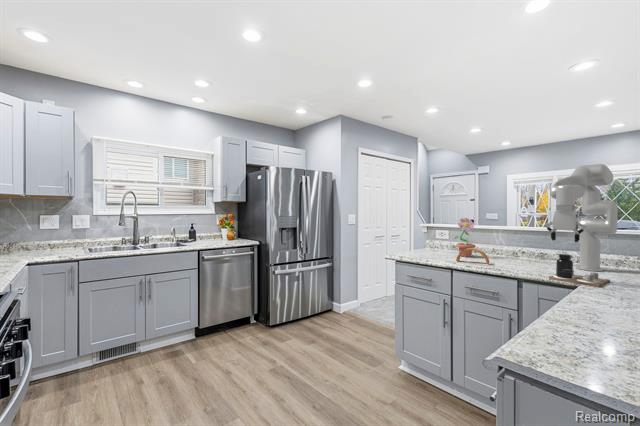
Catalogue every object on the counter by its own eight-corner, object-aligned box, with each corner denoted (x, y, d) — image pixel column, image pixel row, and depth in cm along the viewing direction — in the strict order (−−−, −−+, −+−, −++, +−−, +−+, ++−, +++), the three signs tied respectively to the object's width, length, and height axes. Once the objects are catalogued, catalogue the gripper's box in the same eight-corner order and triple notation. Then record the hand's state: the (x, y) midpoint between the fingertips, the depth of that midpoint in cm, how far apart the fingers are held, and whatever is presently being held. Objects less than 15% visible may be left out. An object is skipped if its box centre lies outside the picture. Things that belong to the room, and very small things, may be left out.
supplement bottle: (566, 278, 155) (566, 255, 154) (552, 276, 161) (553, 253, 161) (576, 278, 156) (576, 255, 156) (562, 275, 163) (562, 253, 163)
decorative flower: (455, 257, 231) (455, 218, 231) (453, 254, 244) (453, 217, 244) (477, 258, 227) (477, 218, 226) (473, 255, 240) (473, 217, 239)
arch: (488, 265, 199) (488, 250, 199) (455, 261, 212) (456, 247, 212) (489, 264, 204) (489, 249, 204) (458, 260, 216) (458, 246, 216)
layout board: (562, 274, 171) (562, 267, 171) (610, 281, 154) (610, 273, 154) (548, 279, 160) (549, 271, 160) (598, 287, 144) (599, 278, 144)
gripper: (588, 208, 153) (588, 242, 154) (548, 208, 167) (548, 239, 168) (584, 208, 149) (583, 243, 149) (542, 208, 163) (542, 240, 164)
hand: (564, 241), depth 159 cm, fingers open, 9 cm apart
